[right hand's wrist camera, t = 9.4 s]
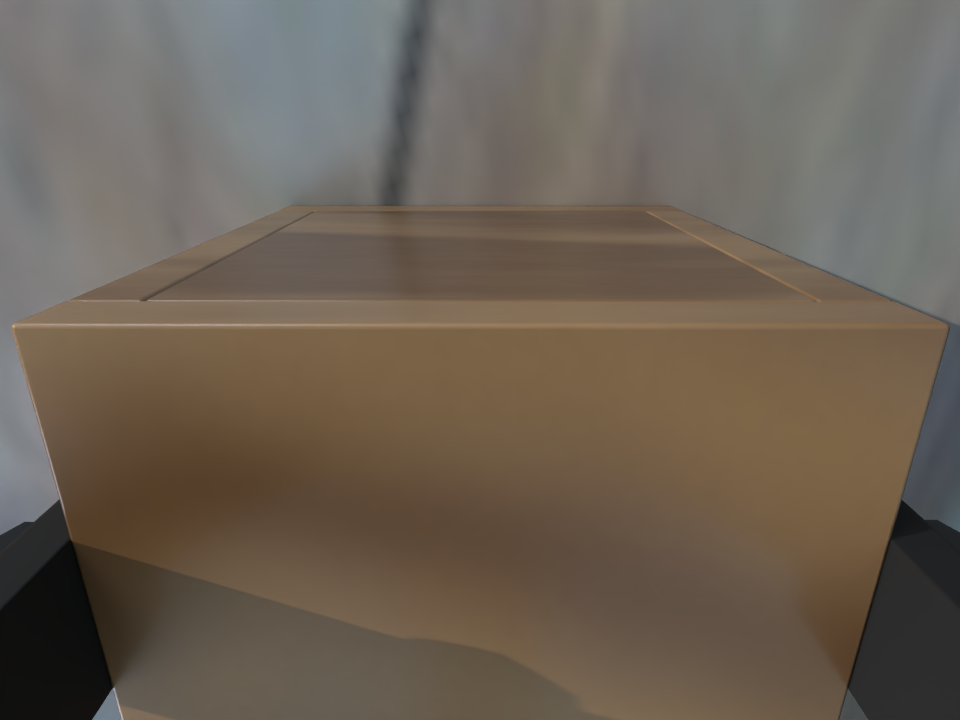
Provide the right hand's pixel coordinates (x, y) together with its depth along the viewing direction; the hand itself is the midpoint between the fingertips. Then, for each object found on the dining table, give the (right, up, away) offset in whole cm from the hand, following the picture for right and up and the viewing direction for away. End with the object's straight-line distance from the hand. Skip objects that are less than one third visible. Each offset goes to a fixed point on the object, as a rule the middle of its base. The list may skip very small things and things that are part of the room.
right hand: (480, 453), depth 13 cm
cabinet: (0, -3, +8) cm, 9 cm away
